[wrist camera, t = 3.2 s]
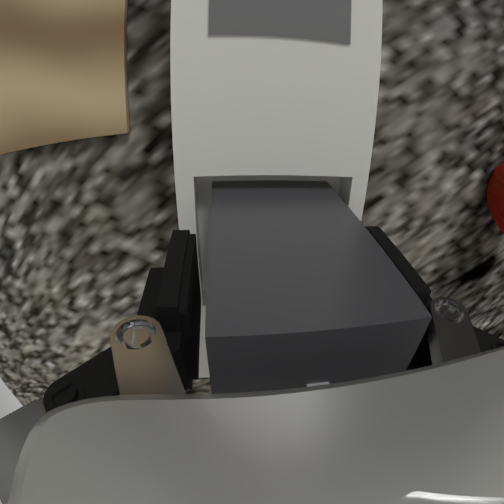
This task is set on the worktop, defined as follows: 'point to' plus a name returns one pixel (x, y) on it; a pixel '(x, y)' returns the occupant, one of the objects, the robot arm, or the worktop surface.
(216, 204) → the block
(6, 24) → the coaster
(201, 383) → the worktop surface
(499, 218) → the apple
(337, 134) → the power strip
